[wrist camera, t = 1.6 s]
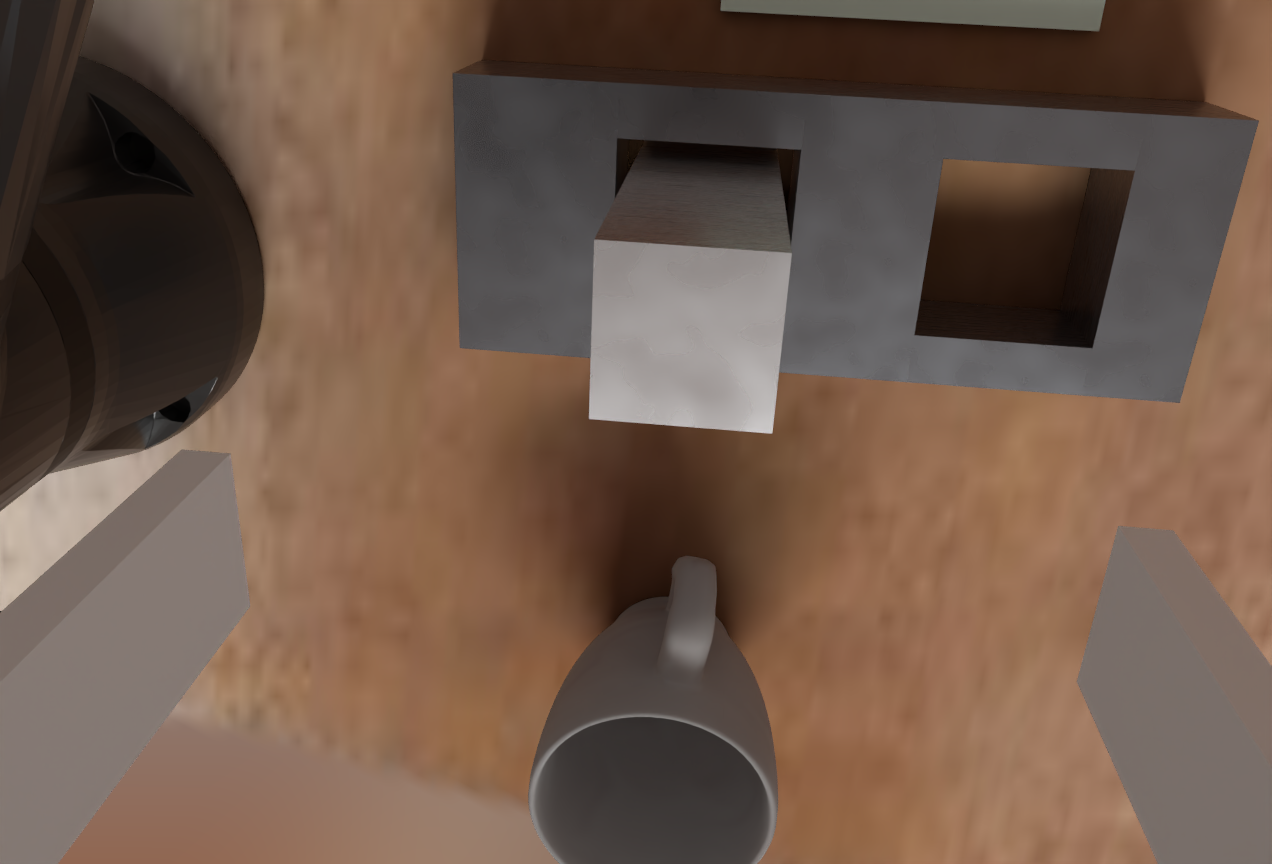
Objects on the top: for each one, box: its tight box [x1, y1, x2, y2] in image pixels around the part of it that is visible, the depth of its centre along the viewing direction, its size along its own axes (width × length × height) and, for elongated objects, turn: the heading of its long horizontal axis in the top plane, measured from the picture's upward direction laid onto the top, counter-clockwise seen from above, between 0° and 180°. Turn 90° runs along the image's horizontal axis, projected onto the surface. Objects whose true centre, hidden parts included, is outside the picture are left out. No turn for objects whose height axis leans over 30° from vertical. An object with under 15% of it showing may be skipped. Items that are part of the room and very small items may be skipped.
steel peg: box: [589, 140, 792, 434], centre depth 32 cm, size 4×4×14 cm
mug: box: [528, 556, 778, 864], centre depth 41 cm, size 12×9×10 cm
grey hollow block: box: [453, 60, 1259, 403], centre depth 36 cm, size 24×9×4 cm, turn 88°
